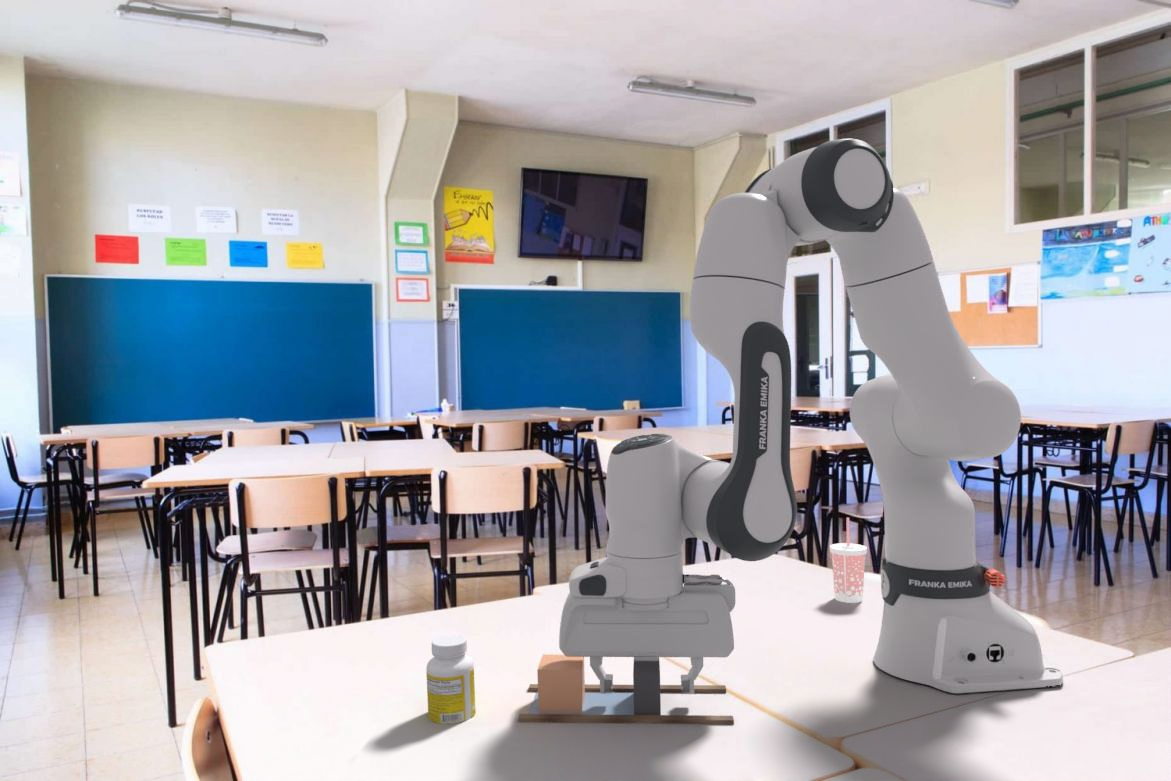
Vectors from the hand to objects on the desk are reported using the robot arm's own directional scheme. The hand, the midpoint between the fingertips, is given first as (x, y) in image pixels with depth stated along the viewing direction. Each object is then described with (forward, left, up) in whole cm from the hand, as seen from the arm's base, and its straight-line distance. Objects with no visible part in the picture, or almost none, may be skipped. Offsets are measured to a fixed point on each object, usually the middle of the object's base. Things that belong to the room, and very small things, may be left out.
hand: (647, 692), depth 98 cm
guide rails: (+2, 0, -3) cm, 4 cm away
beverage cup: (-35, -48, -3) cm, 59 cm away
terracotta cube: (+10, 0, -2) cm, 10 cm away
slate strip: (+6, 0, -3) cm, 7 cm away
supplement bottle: (+22, +3, -3) cm, 23 cm away
